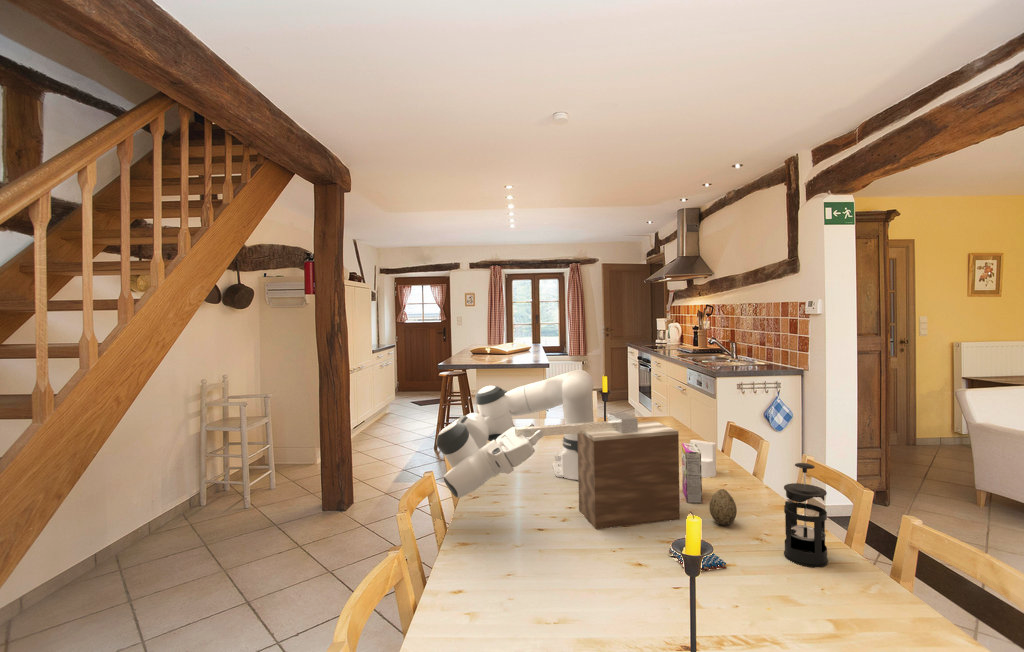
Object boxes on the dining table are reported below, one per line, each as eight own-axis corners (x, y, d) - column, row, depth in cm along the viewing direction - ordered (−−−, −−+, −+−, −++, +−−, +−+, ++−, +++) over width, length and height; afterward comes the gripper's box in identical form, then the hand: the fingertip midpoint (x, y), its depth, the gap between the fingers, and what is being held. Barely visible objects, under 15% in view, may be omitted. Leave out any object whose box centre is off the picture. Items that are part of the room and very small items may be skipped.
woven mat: (703, 550, 129) (703, 542, 129) (729, 571, 118) (729, 562, 118) (666, 555, 127) (665, 547, 127) (688, 576, 116) (688, 567, 116)
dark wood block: (579, 510, 155) (577, 426, 155) (656, 502, 161) (655, 421, 160) (595, 529, 142) (593, 437, 141) (679, 519, 147) (678, 430, 146)
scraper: (512, 433, 148) (512, 419, 148) (623, 424, 156) (622, 412, 156) (519, 441, 139) (519, 426, 139) (637, 432, 146) (637, 418, 146)
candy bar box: (681, 491, 170) (680, 442, 170) (697, 491, 169) (696, 443, 169) (686, 503, 159) (685, 451, 159) (702, 504, 158) (701, 452, 158)
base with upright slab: (720, 473, 187) (719, 441, 187) (710, 479, 181) (710, 446, 181) (696, 468, 194) (695, 437, 193) (686, 474, 187) (685, 442, 187)
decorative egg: (739, 530, 139) (739, 494, 139) (712, 528, 140) (712, 493, 140) (733, 519, 146) (732, 485, 146) (707, 518, 147) (706, 484, 147)
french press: (840, 567, 118) (839, 469, 117) (802, 570, 117) (801, 472, 116) (805, 544, 129) (804, 455, 129) (771, 547, 128) (770, 457, 128)
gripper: (496, 455, 153) (534, 429, 155) (510, 476, 133) (553, 446, 135) (485, 438, 152) (524, 412, 155) (498, 456, 132) (541, 427, 135)
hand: (537, 428), depth 145 cm, fingers open, 8 cm apart
